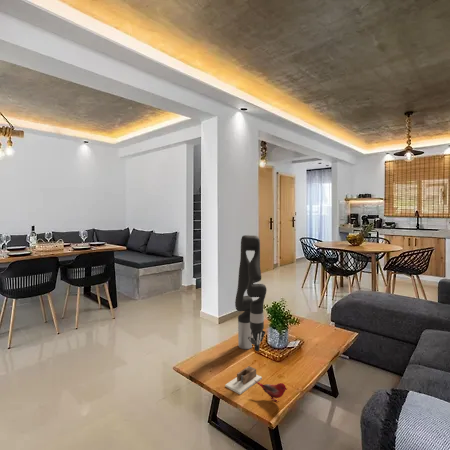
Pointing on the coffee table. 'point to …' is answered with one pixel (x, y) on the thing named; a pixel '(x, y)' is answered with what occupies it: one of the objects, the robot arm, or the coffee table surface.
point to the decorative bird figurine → (273, 390)
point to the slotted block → (246, 374)
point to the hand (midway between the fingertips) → (257, 350)
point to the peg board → (241, 384)
